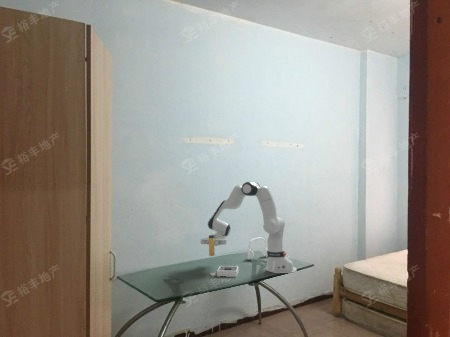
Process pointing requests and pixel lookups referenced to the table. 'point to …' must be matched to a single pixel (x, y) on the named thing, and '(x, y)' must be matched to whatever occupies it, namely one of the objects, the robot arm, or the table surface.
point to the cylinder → (211, 245)
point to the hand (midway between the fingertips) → (211, 243)
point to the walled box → (228, 271)
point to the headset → (264, 249)
